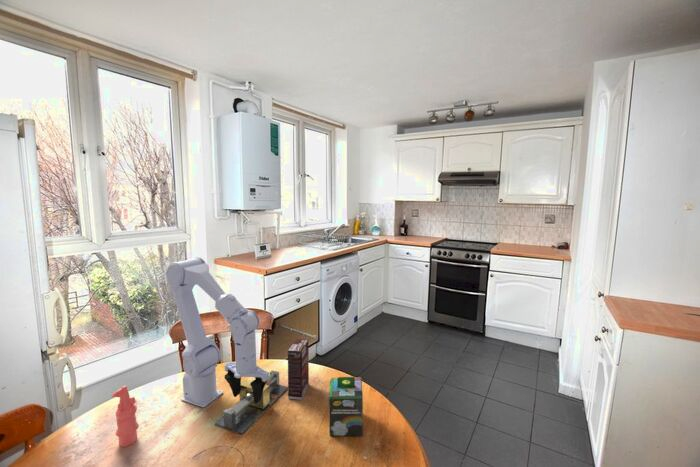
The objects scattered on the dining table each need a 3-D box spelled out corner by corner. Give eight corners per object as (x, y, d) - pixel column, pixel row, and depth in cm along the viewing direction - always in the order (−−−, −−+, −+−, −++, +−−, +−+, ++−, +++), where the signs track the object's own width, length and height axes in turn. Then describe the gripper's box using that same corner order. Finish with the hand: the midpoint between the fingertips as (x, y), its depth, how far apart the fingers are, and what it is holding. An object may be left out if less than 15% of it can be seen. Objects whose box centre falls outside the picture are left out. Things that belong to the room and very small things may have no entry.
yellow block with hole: (263, 409, 93) (262, 391, 92) (239, 401, 96) (238, 384, 96) (269, 402, 96) (269, 385, 95) (246, 396, 99) (245, 379, 98)
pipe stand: (242, 434, 84) (241, 416, 83) (214, 424, 88) (213, 407, 87) (288, 388, 104) (287, 373, 104) (264, 381, 108) (263, 367, 107)
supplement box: (302, 400, 98) (301, 352, 96) (287, 399, 99) (286, 351, 97) (309, 384, 107) (309, 339, 105) (295, 383, 107) (295, 338, 105)
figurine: (121, 452, 78) (116, 395, 76) (111, 443, 81) (106, 389, 79) (143, 438, 82) (139, 385, 81) (134, 431, 85) (129, 379, 83)
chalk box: (362, 413, 92) (362, 365, 91) (363, 437, 83) (363, 384, 82) (330, 413, 92) (330, 365, 91) (328, 437, 83) (328, 384, 82)
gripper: (215, 355, 90) (218, 399, 92) (257, 366, 85) (258, 412, 86) (233, 345, 97) (235, 386, 98) (272, 354, 91) (274, 397, 93)
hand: (247, 397), depth 93 cm, fingers open, 7 cm apart
